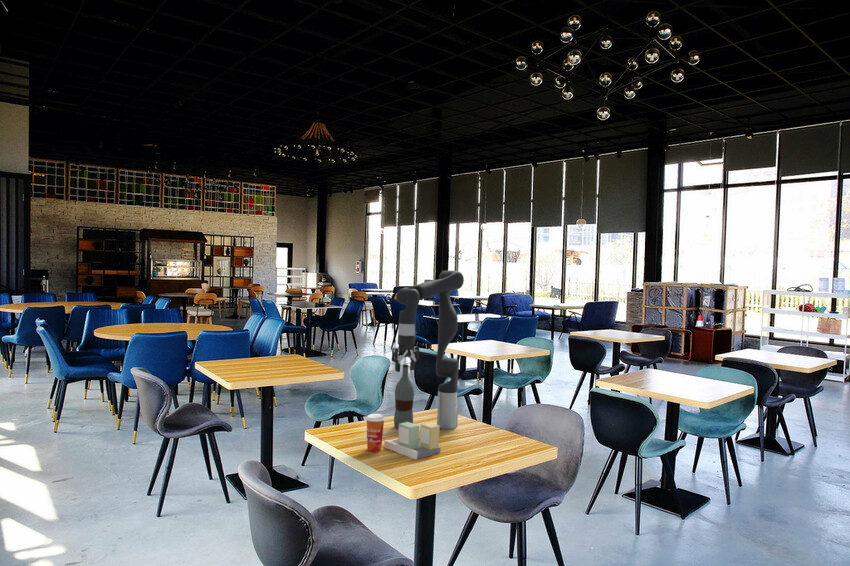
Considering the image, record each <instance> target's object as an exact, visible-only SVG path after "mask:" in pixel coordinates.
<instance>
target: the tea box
mask: <svg viewBox="0 0 850 566" xmlns="http://www.w3.org/2000/svg"><path fill="white" fill-rule="evenodd" d="M397 431H398V433H397V434H398V436H397V440H398V444H399V445H401V446H404V447H407V448H410V449H415V448H419V440H420V425H418V424H416V423H414V422H413V423H410V422H405V423H400V424H399V429H398V430H397Z"/></svg>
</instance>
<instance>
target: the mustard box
mask: <svg viewBox="0 0 850 566" xmlns="http://www.w3.org/2000/svg"><path fill="white" fill-rule="evenodd" d="M419 440H420V447H423V448H426V449H429V450H432V449H435V448H439V447H440V426H439V425H437V423H436V424H435V423H432V422H426V423H421V424H420V426H419Z"/></svg>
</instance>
